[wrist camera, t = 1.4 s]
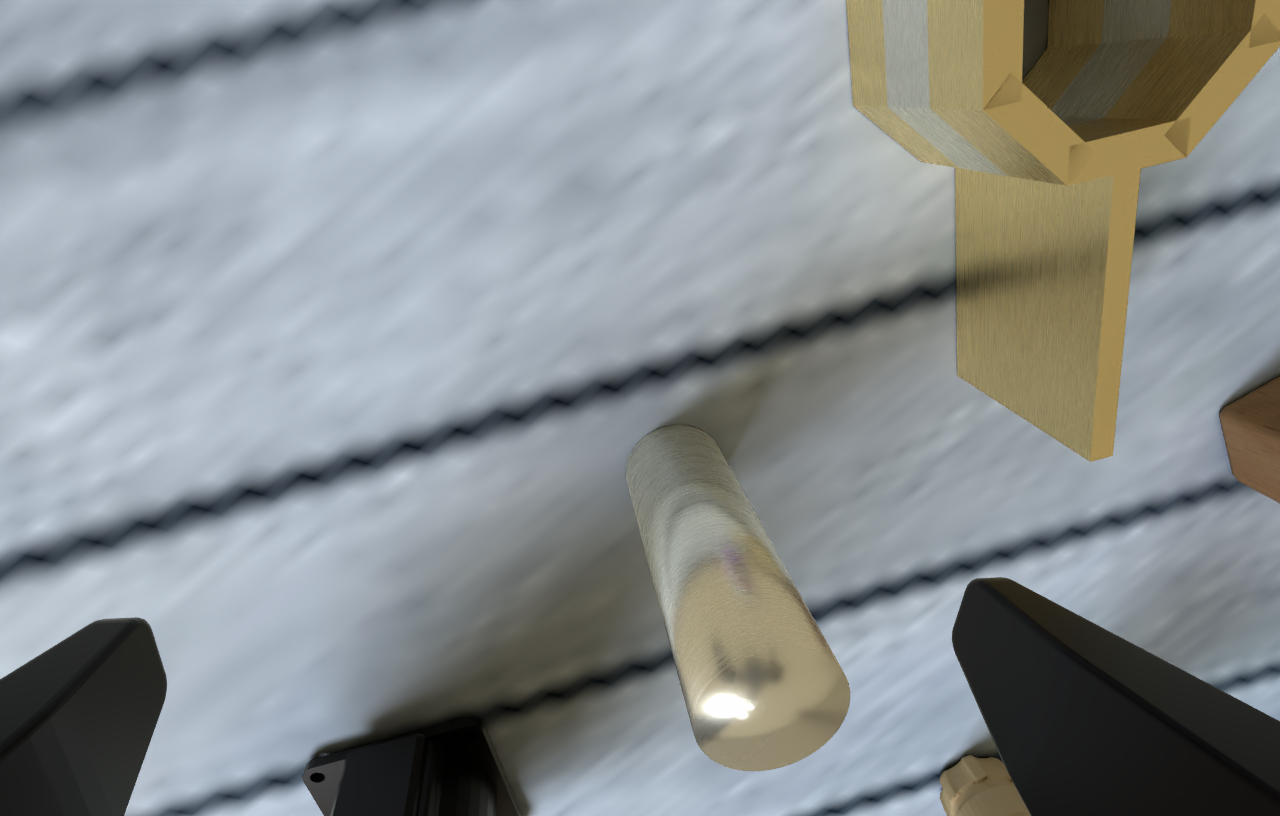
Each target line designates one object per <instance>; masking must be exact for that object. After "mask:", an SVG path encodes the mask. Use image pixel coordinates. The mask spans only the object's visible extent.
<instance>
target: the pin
mask: <svg viewBox="0 0 1280 816" xmlns="http://www.w3.org/2000/svg"><path fill="white" fill-rule="evenodd" d="M626 481H627V485H628V489H629V493H630V496H631V500H632V504H633V508H634V511H635V515H636V519H637V523H638V526H639V530H640V534H641V538H642V541H643V545H644V549H645V553H646V556H647V560H648V564H649V568H650V571H651V575H652V579H653V583H654V586H655V590H656V594H657V598H658V601H659V605H660V609H661V613H662V616H663V620H664V624H665V628H666V631H667V635H668V639H669V642H670V646H671V650H672V654H673V657H674V661H675V665H676V669H677V672H678V676H679V680H680V684H681V687H682V691H683V695H684V699H685V702H686V706H687V710H688V714H689V717H690V721H691V725H692V729H693V732H694V736H695V739H696V741H697V743H698V745H699V747H700V748H701V750H702V751H703V752H704V753H705V754H706V755H707V756H708V757H709V758H710V759H712V760H714V761H715V762H717V763H719V764H721V765H723V766H725V767H729V768H732V769H737V770H743V771H764V770H771V769H776V768H780V767H783V766H786V765H790V764H792V763H795V762H797V761H799V760H801V759H803V758H805V757H807V756H809V755H810V754H812V753H813V752H815V751H817V750H818V749H819V748H820V747H822V746H823V745H824V744H825V743H826V742H827V741H828V740H829V739H830V738H831V737H832V736H833V735H834V734H835V733H836V732H837V730H838V729H839V727H840V726H841V724H842V723H843V721H844V719H845V717H846V714H847V711H848V708H849V703H850V688H849V683H848V681H847V678H846V676H845V674H844V672H843V671H842V669H841V667H840V665H839V663H838V662H837V660H836V658H835V656H834V654H833V653H832V651H831V649H830V647H829V645H828V644H827V642H826V640H825V638H824V636H823V635H822V633H821V631H820V629H819V627H818V626H817V624H816V622H815V620H814V618H813V617H812V615H811V613H810V611H809V609H808V608H807V606H806V604H805V602H804V600H803V599H802V597H801V595H800V593H799V591H798V589H797V588H796V586H795V584H794V582H793V580H792V579H791V577H790V575H789V573H788V571H787V570H786V568H785V566H784V564H783V562H782V561H781V559H780V557H779V555H778V553H777V552H776V550H775V548H774V546H773V544H772V543H771V541H770V539H769V537H768V535H767V534H766V532H765V530H764V528H763V526H762V525H761V523H760V521H759V519H758V517H757V516H756V514H755V512H754V510H753V508H752V507H751V505H750V503H749V501H748V499H747V498H746V496H745V494H744V492H743V490H742V489H741V487H740V485H739V483H738V481H737V480H736V478H735V476H734V474H733V472H732V471H731V469H730V467H729V465H728V463H727V462H726V460H725V458H724V456H723V454H722V453H721V451H720V449H719V447H718V445H717V444H716V442H715V441H714V440H713V439H712V438H711V437H710V436H709V435H708V434H707V433H705V432H704V431H702V430H700V429H698V428H695V427H692V426H687V425H671V426H666V427H662V428H659V429H657V430H655V431H653V432H651V433H649V434H648V435H646V436H645V437H644V438H642V439H641V440H640V441H639V442H638V443H637V445H636V446H635V447H634V448H633V450H632V452H631V453H630V456H629V458H628V461H627V464H626Z"/></svg>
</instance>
